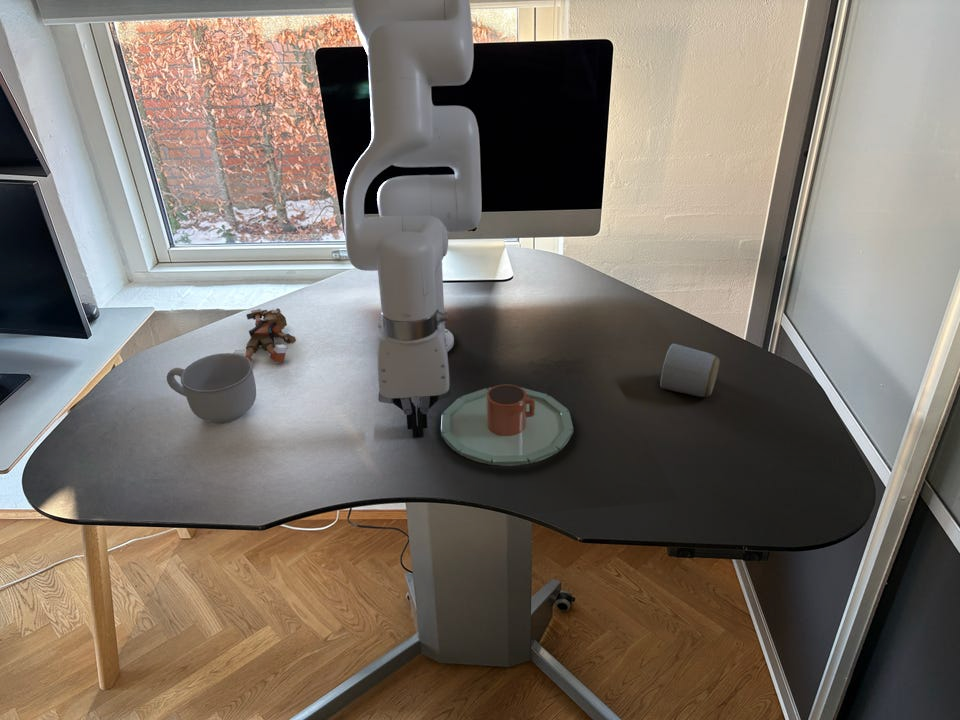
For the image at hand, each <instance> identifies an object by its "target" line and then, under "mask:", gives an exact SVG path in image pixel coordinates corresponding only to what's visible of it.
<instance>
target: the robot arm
mask: <svg viewBox="0 0 960 720" xmlns="http://www.w3.org/2000/svg"><path fill="white" fill-rule="evenodd" d="M351 10H352V17H353V22H354V25H355V28H356V31H357V34H358V37H359V40H360V42H361V44H362V46H363V48H364V50H365V52H366V55H367V61H368V62H367V63H368V65H367V67H368V83H369V85H368V86H369V99H370V102H369V103H370V122H371V123H370V124H371V140H370V143H369V145H368V147H367V148H366V149H365V150H364V152H363V153H362V154H361V155H360V157H359V158H358V160H357V161H356V162H355V164H354V166H353V167H352V169H351V171H350V174H349V176H348V178H347V182H346V184H345V189H344V194H343V221H344V222H343V223H344V241H345V242H344V243H345V250H346V255H347V258H348V260H349V262H350V264H351V265H352V266H353V267H354V268H355V269H358V270H359V271H365V272H367V271H369V272H373V271H374V272H375V271H377V275H378V276H377V277H378V289H379V299H380V310H381V315H380V317H379V322H378V324H377V327H378V333H377V343H376V359H377V360H376V361H377V363H376V365H377V381H378V399H377V400H378V402H379V403H384V404H390V405H391V404H393V405H394V406H396V407H397V408H399V409H400V410H401V411H403V414H404V415H406V425H407V426H406V427H407V428H406V429H407V430H411V433H412V438H417V437H422V438H423V437H424V429H428V417H427V416H428V414H427V413H429V410H430V409H431V408H432V407H433V406H434V405H435V404H436V403H437V402H438V401H443V400H446V399H447V400H448V399H450V398H451V397H452V396H453V392H452V391H453V390H452V388H451V384H450V368H449V367H450V366H449V358H448V357H449V356H448V353H449V351H451V349H453V347H454V345H455V337H454V335H453V333H452V332H451V331H450V330H449V329H447V328H446V324H445V323H448V321H449V320H448V312H447V311H446V312H445V300H444V298H445V297H444V281H443V279H444V277H443V259H444V257H446V256H447V253H448V250H449V233H457V232H458V233H460V232H469V231H472V230H474V229H476V228H478V226H479V224H480V222H481V219H482V208H483V207H482V173H481V146H480V132H479V126H478V122H477V118H476V115H475V114H474V112H473V111H472V110H471V109H470V108H469V107H467V106H462V105H435V104H434V103H433V100H432V87H447V86H462V85H465V84H466V83H468V81H469V80H470V78H471V75H472V72H473V69H474V59H475V57H474V56H475V55H474V52H475V51H474V32H473V22H472V10H471V3H470V0H352V1H351ZM390 166H394V167H398V168H399V167H400V168H431V167H432V168H436V167H437V168H438V167H439V168H440V167H449V168H450V169H452V170H453V172H454V174H431V175H430V174H419V175H418V174H417V175H415V174H414V175H401V176H395V177H392V178H391V177H390V178H389V179H387V180H386V181H384V182H383V183H382V184H381V185H380V186H379V188H378V191H377V196H376V197H377V198H376V201H377V209H378V214H379V216H365V198H366V194H367V191H368V188H369V186H370V185H371V183H372V182H373V180H374V179H375V178H376V177H377V176H378V175H380V174H381V173H382V172H383V171H384V170H386V169H387V168H389V167H390ZM412 398H419V402H417V405H415V403H414V402H413V401H412Z"/></svg>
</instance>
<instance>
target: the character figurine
mask: <svg viewBox="0 0 960 720" xmlns="http://www.w3.org/2000/svg"><path fill="white" fill-rule="evenodd" d="M245 316H246V318H247V320H248V321H249V320H253V321H254V320H255V324H254V325H255V326H254V327H253V328H252V329H249V330H248V333H249V336H250V339H249V340H248V342H247V344H246V346H245V349H235V350H234V351H233V354H239V355H242V356H244V357H246V358H248V359H249V360H250V361H251V362H252V356H253V355H254V354H257V352H258V351H259V349H260V346H261V348H262V349H263V350H264V351H265V352H267V353H268V354H269V358H270V360H272V361H273V362H274V364H275V363H277V364H278V363H279V364H280V363H284V362H285V359H286V358H285V357H286V354H287V350H288V347H287V346H286V345H285V344H275V339H281V340H283V342H284V343H286V344H287V345H290V344H295V342H297V339H296V336H294V335H292V334H290V333H286V334H285V333H284V332H282V331H283V330H284V329H285V327H286V326H288V323H287V319H286V316H284V314H282V312H281V310H280V308H278V307H277V308H276V309H269V310H268V309H260V308H258V309H253V310H251V311H250V313H246V315H245Z"/></svg>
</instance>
